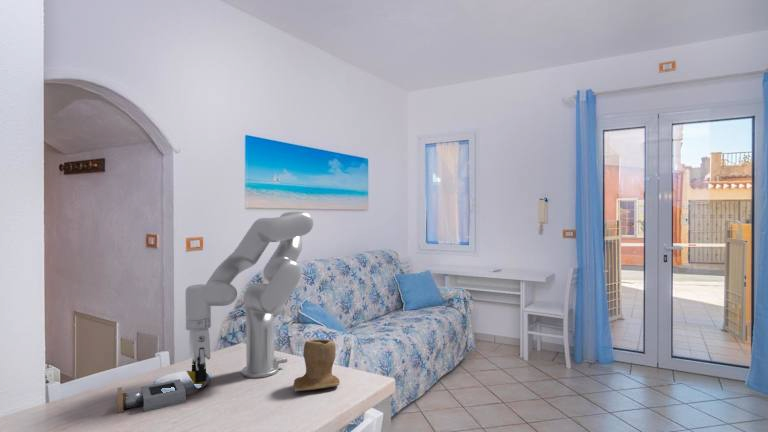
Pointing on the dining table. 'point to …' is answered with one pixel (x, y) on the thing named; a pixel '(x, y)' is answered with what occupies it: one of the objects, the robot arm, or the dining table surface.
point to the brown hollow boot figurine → (317, 366)
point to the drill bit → (192, 376)
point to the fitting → (152, 396)
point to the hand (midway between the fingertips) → (199, 378)
